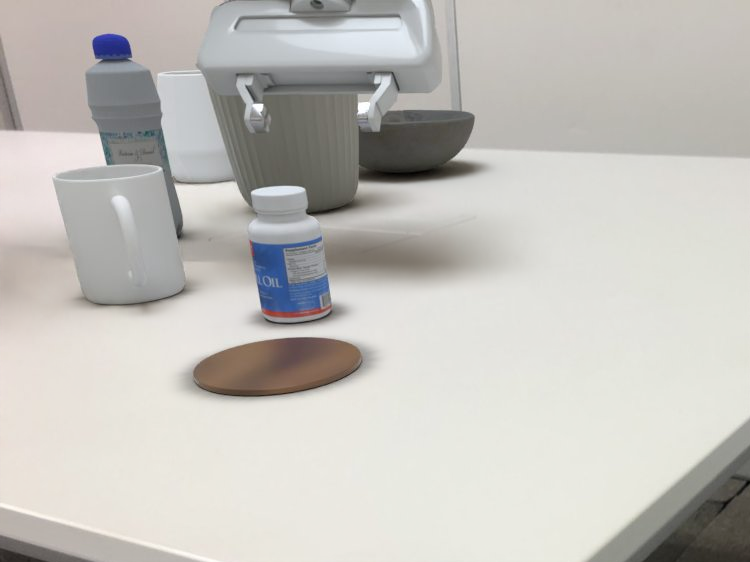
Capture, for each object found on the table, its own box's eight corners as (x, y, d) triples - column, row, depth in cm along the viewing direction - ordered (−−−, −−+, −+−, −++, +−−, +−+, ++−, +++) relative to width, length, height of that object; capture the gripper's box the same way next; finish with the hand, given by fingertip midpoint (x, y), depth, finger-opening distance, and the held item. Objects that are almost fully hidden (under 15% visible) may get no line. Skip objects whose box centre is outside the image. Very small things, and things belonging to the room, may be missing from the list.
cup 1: (179, 275, 93) (154, 161, 89) (203, 305, 84) (177, 179, 79) (79, 288, 89) (48, 170, 85) (93, 322, 80) (59, 191, 76)
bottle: (119, 247, 104) (69, 35, 95) (120, 235, 110) (73, 33, 101) (189, 240, 107) (146, 33, 98) (187, 228, 112) (146, 31, 103)
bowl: (303, 172, 147) (294, 114, 144) (428, 156, 160) (422, 102, 156) (376, 189, 133) (368, 125, 129) (506, 171, 145) (502, 112, 142)
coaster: (179, 402, 64) (177, 396, 64) (209, 348, 74) (208, 343, 73) (358, 387, 66) (357, 381, 66) (364, 337, 76) (364, 332, 75)
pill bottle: (251, 314, 81) (228, 190, 77) (313, 301, 85) (294, 181, 80) (281, 328, 78) (258, 199, 73) (345, 314, 81) (327, 189, 77)
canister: (221, 200, 127) (186, 16, 118) (367, 189, 133) (345, 13, 124) (226, 227, 112) (186, 19, 103) (390, 213, 118) (366, 15, 109)
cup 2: (278, 170, 149) (261, 68, 143) (229, 186, 137) (209, 75, 131) (195, 169, 151) (175, 68, 145) (140, 184, 139) (116, 75, 133)
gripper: (198, -31, 86) (171, 103, 81) (436, -35, 85) (422, 100, 81) (230, 25, 92) (206, 153, 87) (452, 22, 91) (440, 150, 87)
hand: (311, 127), depth 84 cm, fingers open, 8 cm apart
